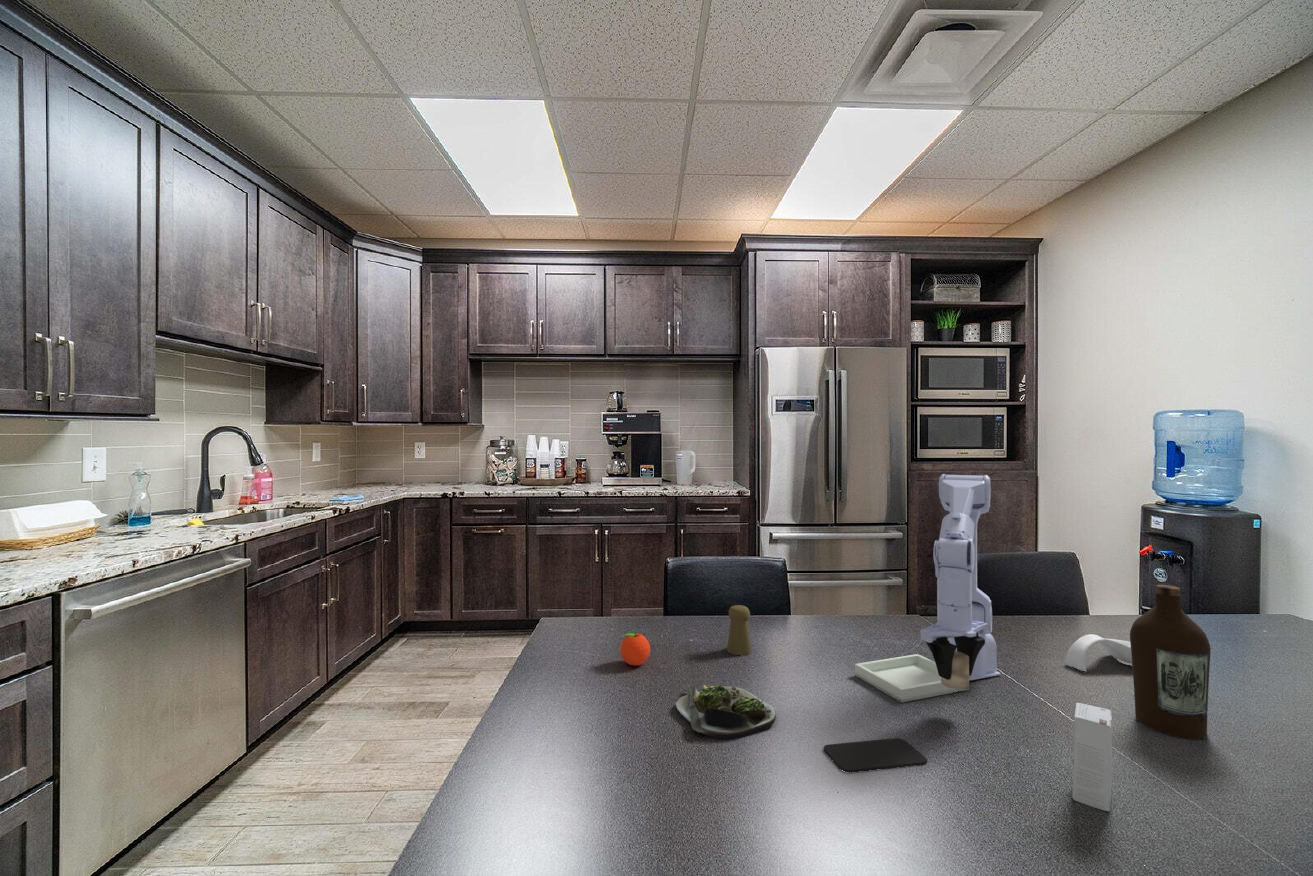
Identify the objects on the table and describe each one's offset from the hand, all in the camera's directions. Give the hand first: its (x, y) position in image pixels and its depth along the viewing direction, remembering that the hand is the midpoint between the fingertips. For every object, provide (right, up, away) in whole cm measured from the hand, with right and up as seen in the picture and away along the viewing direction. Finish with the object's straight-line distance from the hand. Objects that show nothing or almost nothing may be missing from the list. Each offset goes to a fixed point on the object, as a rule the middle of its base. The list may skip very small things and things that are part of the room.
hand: (955, 675), depth 103 cm
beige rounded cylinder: (0, -2, 0) cm, 2 cm away
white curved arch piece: (+50, -8, +24) cm, 56 cm away
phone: (-21, -8, -14) cm, 26 cm away
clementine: (-62, -8, +24) cm, 66 cm away
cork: (-36, -8, +32) cm, 48 cm away
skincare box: (+6, -7, -24) cm, 26 cm away
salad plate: (-43, -8, -1) cm, 44 cm away
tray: (-2, -8, +14) cm, 16 cm away
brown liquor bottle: (+36, -8, -4) cm, 37 cm away
